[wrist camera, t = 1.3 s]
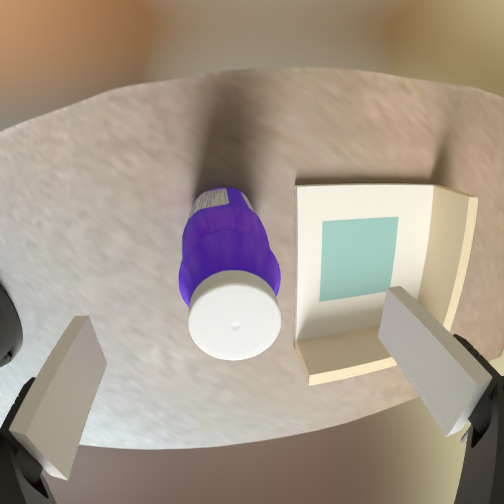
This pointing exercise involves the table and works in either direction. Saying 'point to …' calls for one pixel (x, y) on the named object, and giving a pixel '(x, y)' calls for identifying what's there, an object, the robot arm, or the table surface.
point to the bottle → (229, 277)
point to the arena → (372, 267)
